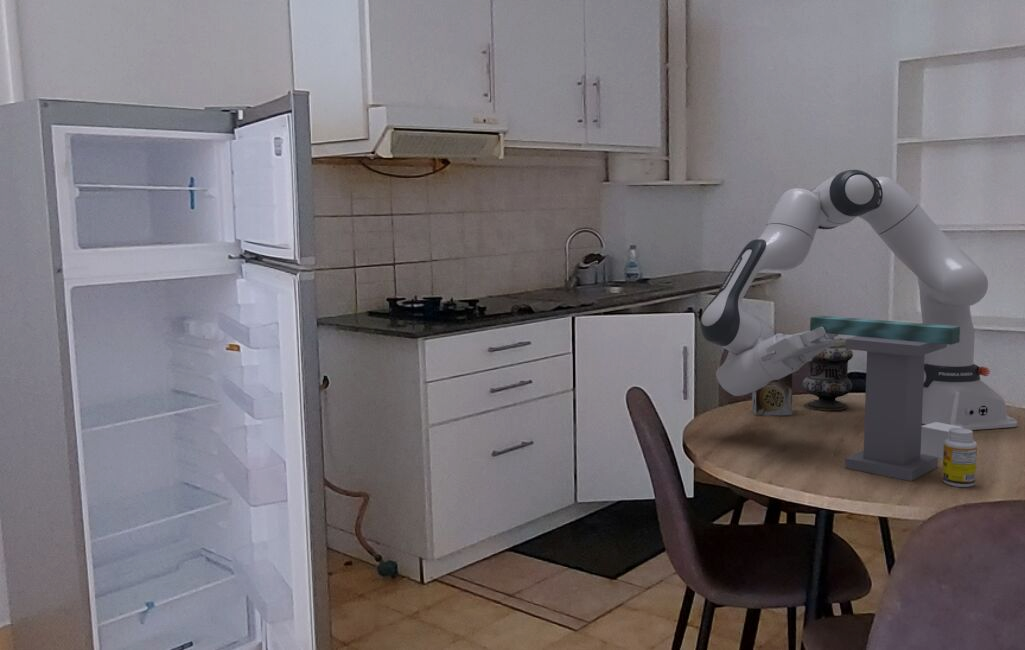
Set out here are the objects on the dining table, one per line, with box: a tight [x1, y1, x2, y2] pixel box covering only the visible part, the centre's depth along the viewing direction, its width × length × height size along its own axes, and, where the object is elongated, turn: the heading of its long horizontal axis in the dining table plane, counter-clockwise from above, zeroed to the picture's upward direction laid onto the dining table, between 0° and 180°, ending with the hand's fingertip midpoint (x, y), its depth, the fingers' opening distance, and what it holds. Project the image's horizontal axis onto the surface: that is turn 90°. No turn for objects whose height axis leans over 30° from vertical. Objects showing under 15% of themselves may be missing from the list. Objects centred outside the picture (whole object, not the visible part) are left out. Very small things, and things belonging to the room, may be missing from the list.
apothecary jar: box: [802, 336, 854, 412], centre depth 236 cm, size 12×12×18 cm
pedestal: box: [844, 336, 947, 482], centre depth 181 cm, size 14×14×26 cm
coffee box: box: [751, 372, 794, 417], centre depth 230 cm, size 9×6×16 cm
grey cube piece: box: [920, 422, 964, 460], centre depth 191 cm, size 6×6×6 cm
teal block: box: [809, 315, 960, 345], centre depth 181 cm, size 28×4×3 cm, turn 45°
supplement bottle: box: [942, 428, 978, 488], centre depth 171 cm, size 6×6×10 cm
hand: (835, 327), depth 188 cm, fingers open, 8 cm apart
